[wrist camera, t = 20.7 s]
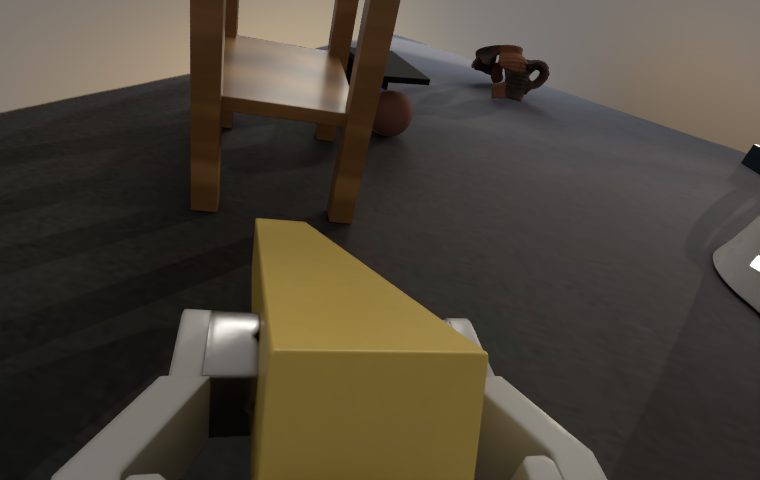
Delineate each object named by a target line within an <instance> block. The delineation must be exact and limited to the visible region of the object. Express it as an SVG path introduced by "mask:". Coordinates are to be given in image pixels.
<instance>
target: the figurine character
mask: <svg viewBox="0 0 760 480" xmlns="http://www.w3.org/2000/svg"><path fill="white" fill-rule="evenodd" d="M355 52H356V48H352V47H350V53H349V58H348V64H347V70H346V75H345V76H346V79H347V82H348V84H349V85H350V80H351V74H352V69H353V63H354V58H355ZM388 82H390V83H404V84H419V85H429V82H430V79H429V78H428V77H426V76H425V75H423V74H422V73H421V72H419V71H418V70H417V69H415V68H414V67H413V66H411V65H410V64H409V63H407V62H406V61H405V60H403V59H402V58H401V57H399V56H398V55H397V54H395V53H394V52H393V51H389V55H388V59H387V64H386V68H385V73H384V77H383V82H382V86H381V91H380V96H379V100H378V105H377V109H376V114H375V118H374V123H373V128H372V129H373V130H374V131H375V132H376V133H378V134H380V135H383V136H395V135H398V134H400V133H402V132H403V131H404V130H405V129H406V128H407V127H408V126H409V124H410V122H411V119H412V107H411V104H410V102H409V100H408V99H407V97H406V96H405V95H403V94H402V93H400V92H398V91H395V90H387V87H388Z"/></svg>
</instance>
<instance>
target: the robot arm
mask: <svg viewBox="0 0 760 480" xmlns="http://www.w3.org/2000/svg"><path fill="white" fill-rule="evenodd" d="M713 263H714V266H715V268H716V270H717V271H718V273H719V274H720V276H721V277H722V278H723V279H724V281H725V282H726V283H727V284H728V285H729V286H730V287H731V288H732V289H733V290H734V291H735V292H736V293H737V294H738V295H739V296H740V297H742V298H743V299H744V300H745V301H746V302H748V303H749V304H750V305H751V306H752V307H754V308H755V309H756V310H757V311H758V312H759V313H760V215H759V216H758V217H757V218H756V219H755V220H754V221H753V222H752V223H751V224H750V225H748V226H747V227H746V228H745V229H744V230H743V231H741V232H740V233H739V234H738V235H736V236H735V237H734V238H733V239H731V240H730V241H729V242H727V243H726V244H724V245H723V246H721V247H720V248H718V249H717V250H716V251H715V252H714V253H713ZM440 319H441V320H442V321H444V322H445V323H447V324H448V325H449V326H451V327H452V328H453V329H455V330H456V331H458V332H459V333H460V334H462V335H463V336H465V337H466V338H467V339H469V340H470V341H472V342H473V343H474V344H476V345H477V346H479V347H480V348H481V349H482V347H481V344H480V342H479V340H478V338H477V336H476V333H475V331H474V329H473V327H472V324H471V322H470V321H469V320H468V319H456V318H446V319H444V318H440ZM259 333H260V313H255V312H238V311H220V310H212V311H210V310H194V309H184V311H183V313H182V316H181V321H180V325H179V330H178V334H177V339H176V344H175V348H174V353H173V358H172V362H171V367H170V372H169V376H160V377H159V378H158V379H156V380H155V381H154V382H153V383H152V384H151V385H150V386H149V387H148V388H147V389H146V390H145V391H144V392H142V393H141V394H140V395H139V396H138V397H137V398H136V399H135V400H134V401H133V402H132V403H131V404H129V405H128V406H127V407H126V408H125V409H124V410H123V411H122V412H121V413H120V414H119V415H118V416H117V417H115V418H114V419H113V420H112V421H111V422H110V423H109V424H108V425H107V426H106V427H105V428H104V429H103V430H101V431H100V432H99V433H98V434H97V435H96V436H95V437H94V438H93V439H92V440H91V441H90V442H88V443H87V444H86V445H85V446H84V447H83V448H82V449H81V450H80V451H79V452H78V453H77V454H76V455H74V456H73V457H72V458H71V459H70V460H69V461H68V462H67V463H66V464H65V465H64V466H63V467H61V468H60V469H59V470H58V471H57V472H56V473H55V474H54V475H53V476H52V478H51V480H180V479H181V477H182V476H183V475H184V473H185V472H186V471H187V469H188V468H189V467H190V465H191V464H192V462H193V461H194V460H195V458H196V457H197V456H198V454H199V453H200V451H201V450H202V449H203V447H204V446H205V445H206V443H207V442H208V441H209V438H213V437H230V436H248V435H252V428H253V419H254V405H255V400H256V391H257V382H258V369H259ZM474 476H475V477H476V479H477V480H607V478H606V476H605V475H604V473H603V471H602V469H601V467H600V465H599V464H598V462H597V460H596V458H595V456H594V454H593V453H592V451H590V450H589V449H588V448H587V447H586V446H584V445H583V444H582V443H581V442H580V441H578V440H577V439H576V438H575V437H573V436H572V435H571V434H570V433H569V432H567V431H566V430H565V429H564V428H563V427H561V426H560V425H559V424H558V423H557V422H555V421H554V420H553V419H552V418H551V417H549V416H548V415H547V414H546V413H544V412H543V411H542V410H541V409H540V408H538V407H537V406H536V405H535V404H534V403H532V402H531V401H530V400H529V399H528V398H526V397H525V396H524V395H523V394H522V393H520V392H519V391H518V390H517V389H515V388H514V387H513V386H512V385H511V384H509V383H508V382H507V381H506V380H505V379H503V378H502V377H501V376H494V374H493V371H492V369H491V367H490V365H489V362H488V366H487V375H486V383H485V391H484V400H483V408H482V416H481V424H480V433H479V441H478V449H477V458H476V466H475V474H474Z"/></svg>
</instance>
